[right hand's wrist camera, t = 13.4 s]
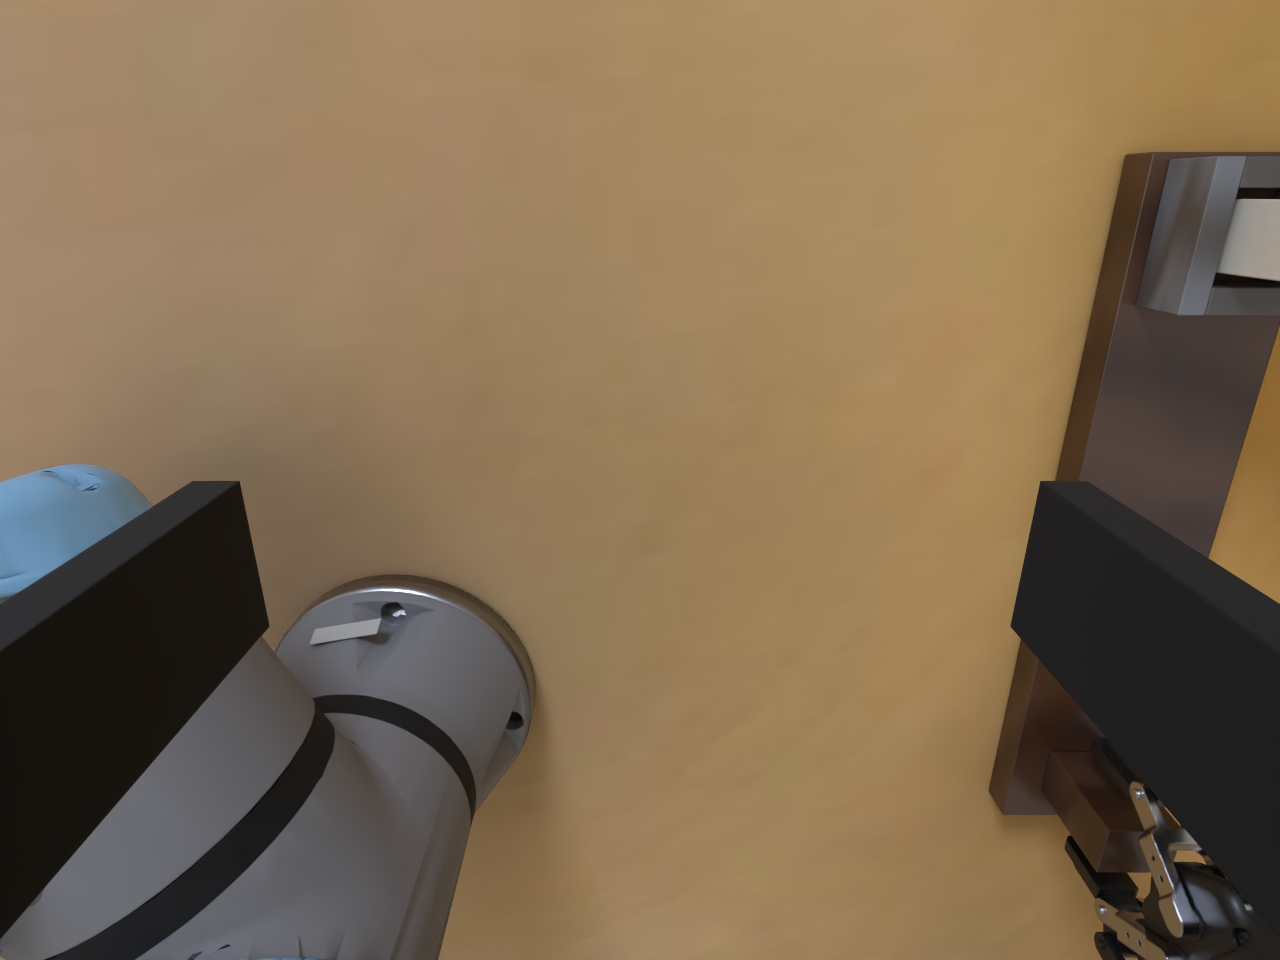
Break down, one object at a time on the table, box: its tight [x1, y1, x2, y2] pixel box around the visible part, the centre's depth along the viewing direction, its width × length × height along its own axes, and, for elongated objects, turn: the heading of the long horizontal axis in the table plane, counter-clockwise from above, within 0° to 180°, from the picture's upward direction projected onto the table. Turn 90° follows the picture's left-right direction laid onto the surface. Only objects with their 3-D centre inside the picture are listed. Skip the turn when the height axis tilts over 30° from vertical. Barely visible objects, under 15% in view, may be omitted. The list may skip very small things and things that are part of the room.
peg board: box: [989, 152, 1280, 872], centre depth 38 cm, size 38×8×8 cm, turn 0°
